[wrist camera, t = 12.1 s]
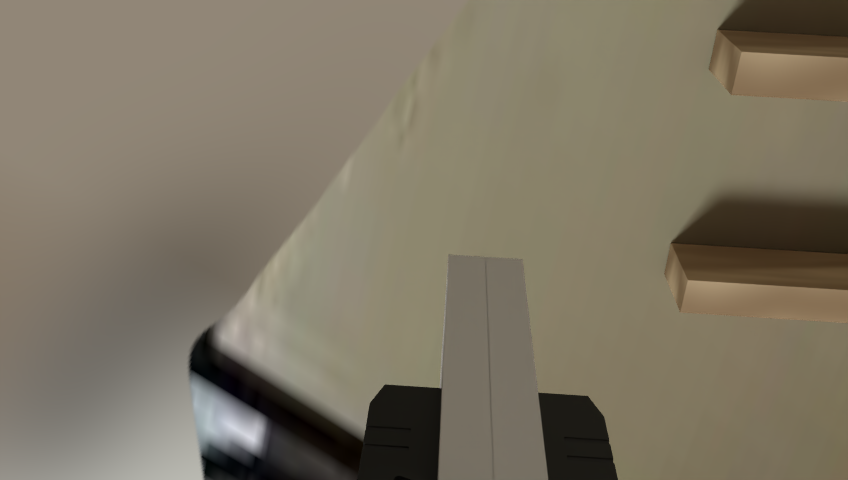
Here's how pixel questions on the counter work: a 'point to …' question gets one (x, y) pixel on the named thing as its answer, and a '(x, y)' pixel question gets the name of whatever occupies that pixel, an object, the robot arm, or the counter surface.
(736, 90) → the bar
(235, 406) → the counter surface
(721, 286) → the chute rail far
